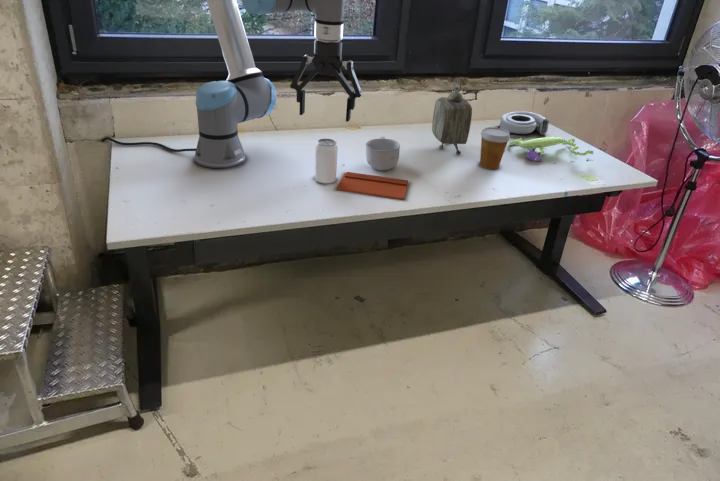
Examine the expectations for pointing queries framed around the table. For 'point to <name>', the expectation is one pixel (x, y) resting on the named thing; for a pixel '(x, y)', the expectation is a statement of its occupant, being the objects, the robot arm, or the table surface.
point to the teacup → (382, 153)
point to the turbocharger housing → (524, 122)
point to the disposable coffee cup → (493, 146)
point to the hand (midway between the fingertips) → (324, 117)
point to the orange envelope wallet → (373, 185)
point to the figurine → (546, 142)
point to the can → (326, 161)
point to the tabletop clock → (452, 119)
